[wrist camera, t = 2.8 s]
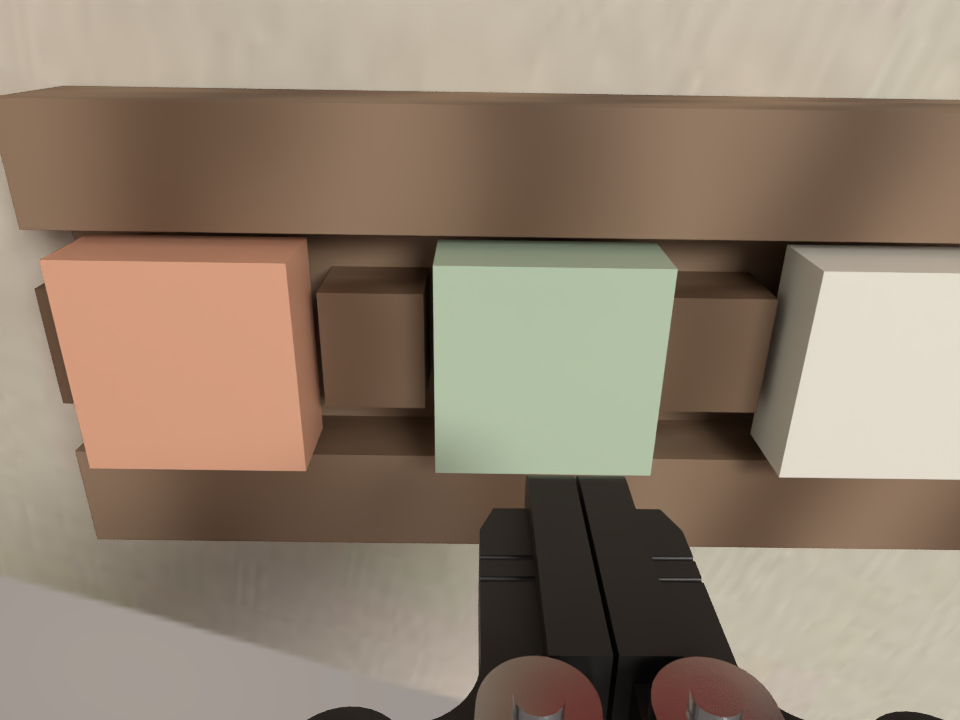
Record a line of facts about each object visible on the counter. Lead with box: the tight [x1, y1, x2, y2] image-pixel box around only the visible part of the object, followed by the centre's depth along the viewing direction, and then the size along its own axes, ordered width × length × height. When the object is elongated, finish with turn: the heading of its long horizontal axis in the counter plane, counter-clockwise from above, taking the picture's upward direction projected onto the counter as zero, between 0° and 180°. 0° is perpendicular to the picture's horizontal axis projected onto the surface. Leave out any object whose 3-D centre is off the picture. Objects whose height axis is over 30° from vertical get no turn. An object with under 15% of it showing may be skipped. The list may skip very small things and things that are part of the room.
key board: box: [0, 86, 960, 550], centre depth 18 cm, size 23×11×3 cm, turn 89°
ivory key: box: [750, 245, 960, 480], centre depth 17 cm, size 5×5×2 cm
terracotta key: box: [39, 234, 323, 471], centre depth 17 cm, size 5×5×2 cm
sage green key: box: [433, 239, 678, 476], centre depth 17 cm, size 5×5×2 cm
